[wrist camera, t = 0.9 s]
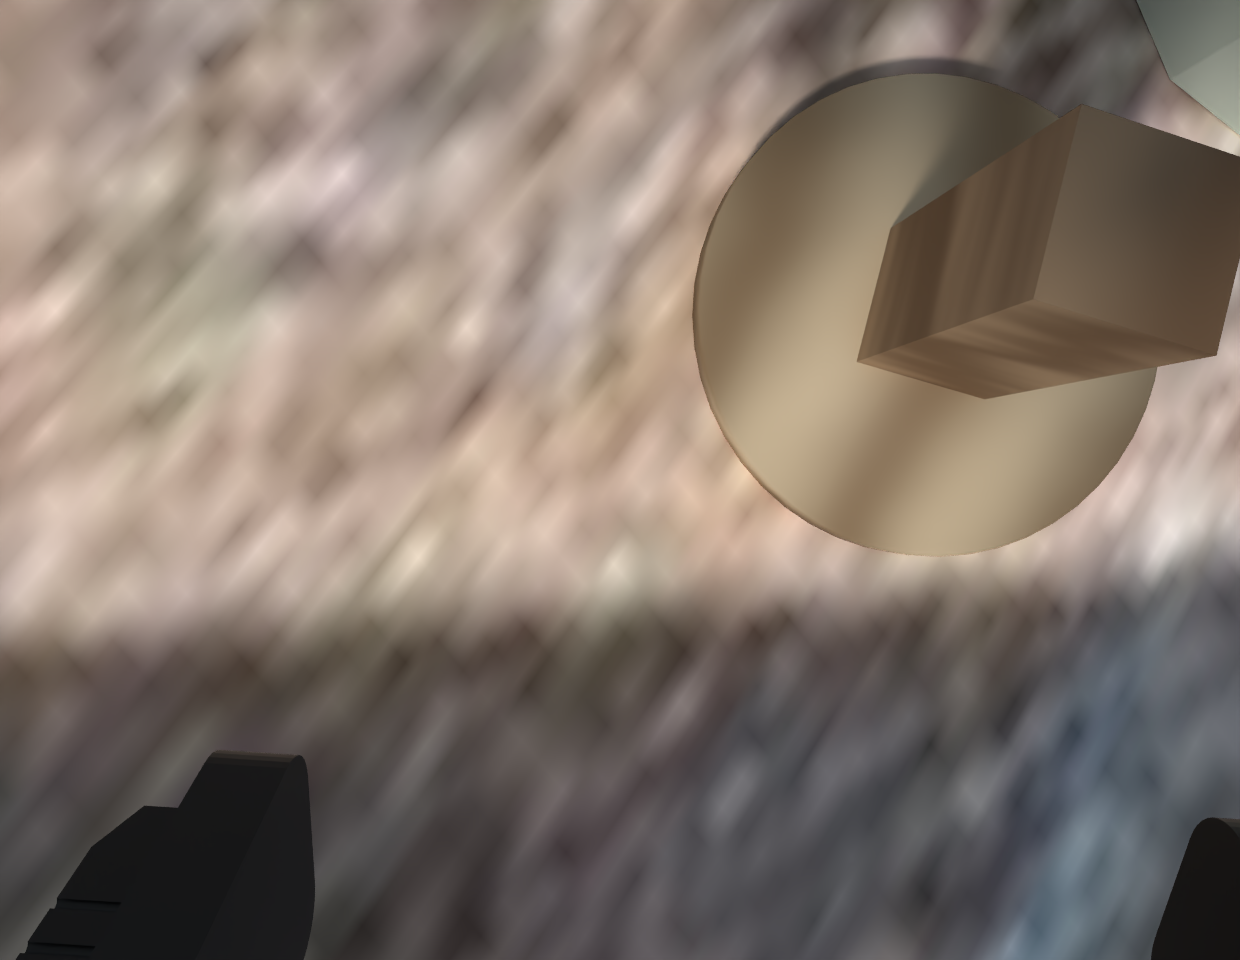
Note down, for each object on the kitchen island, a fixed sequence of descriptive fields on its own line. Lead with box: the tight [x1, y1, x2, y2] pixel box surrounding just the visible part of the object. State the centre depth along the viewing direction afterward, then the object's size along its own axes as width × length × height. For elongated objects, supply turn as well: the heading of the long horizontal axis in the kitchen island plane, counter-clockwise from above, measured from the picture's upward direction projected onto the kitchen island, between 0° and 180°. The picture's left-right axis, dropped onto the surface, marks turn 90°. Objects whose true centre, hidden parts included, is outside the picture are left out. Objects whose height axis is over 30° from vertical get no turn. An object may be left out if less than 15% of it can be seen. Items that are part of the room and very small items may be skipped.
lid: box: [692, 73, 1240, 557], centre depth 26 cm, size 14×14×11 cm
